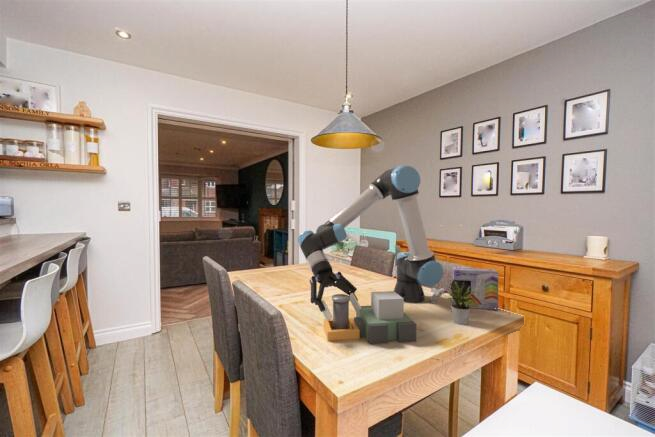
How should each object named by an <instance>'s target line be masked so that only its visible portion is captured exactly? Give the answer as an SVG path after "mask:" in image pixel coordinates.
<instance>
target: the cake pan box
mask: <svg viewBox="0 0 655 437" xmlns="http://www.w3.org/2000/svg"><path fill="white" fill-rule="evenodd" d="M455 282H456V283H457V285H458V286H459V288H460V289H461V288H462V287H463V288H462V292H461V299H462V296H463V294H464V293H466V291H467V289H468V288H469V286H470V288H469V293H470V292H472V291H473V290H475V289H476V290H475V291H474V292H472V293H471V294H470V295H469V296H468V295H467V296H468V297H467V298H474V299H471V300H469V301H468V303H469V302H471V301H473V302H471V303H469V304H468V305H467V306H469V307H470V308H472V309H478V310H479V309H481V310H494V311H495V310H496V311H498V310H499V271H498V270H497V269H494V268H492V269H491V268H478V267H458V266H453V267H452V280H451V283H450V284H451V285H452V286H453V288H454V290H456V284H455ZM451 285H450V288H451V289H452V287H451ZM477 288H479V289H477ZM451 289H450V291H451V294H454V293H453V291H452V290H453V289H452V290H451ZM469 293H468V294H469ZM454 296H455V295H454ZM455 297H456V296H455ZM452 301H453V302H454V303H455V301H454V299H453V298H452ZM453 302H452V304H454V303H453ZM455 304H456V303H455ZM495 308H496V309H495Z"/></svg>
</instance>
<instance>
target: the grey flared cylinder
mask: <svg viewBox="0 0 655 437" xmlns="http://www.w3.org/2000/svg"><path fill="white" fill-rule="evenodd" d="M331 301H332V319H333V328H332V330H340V329H350V328H349V318H350V315H349V313H350V311H349V310H350V308H349V307H350V304H349V302H350V296H349V295H348V294H346V293H340V294H339V293H338V294H333V295H332V296H331Z"/></svg>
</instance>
